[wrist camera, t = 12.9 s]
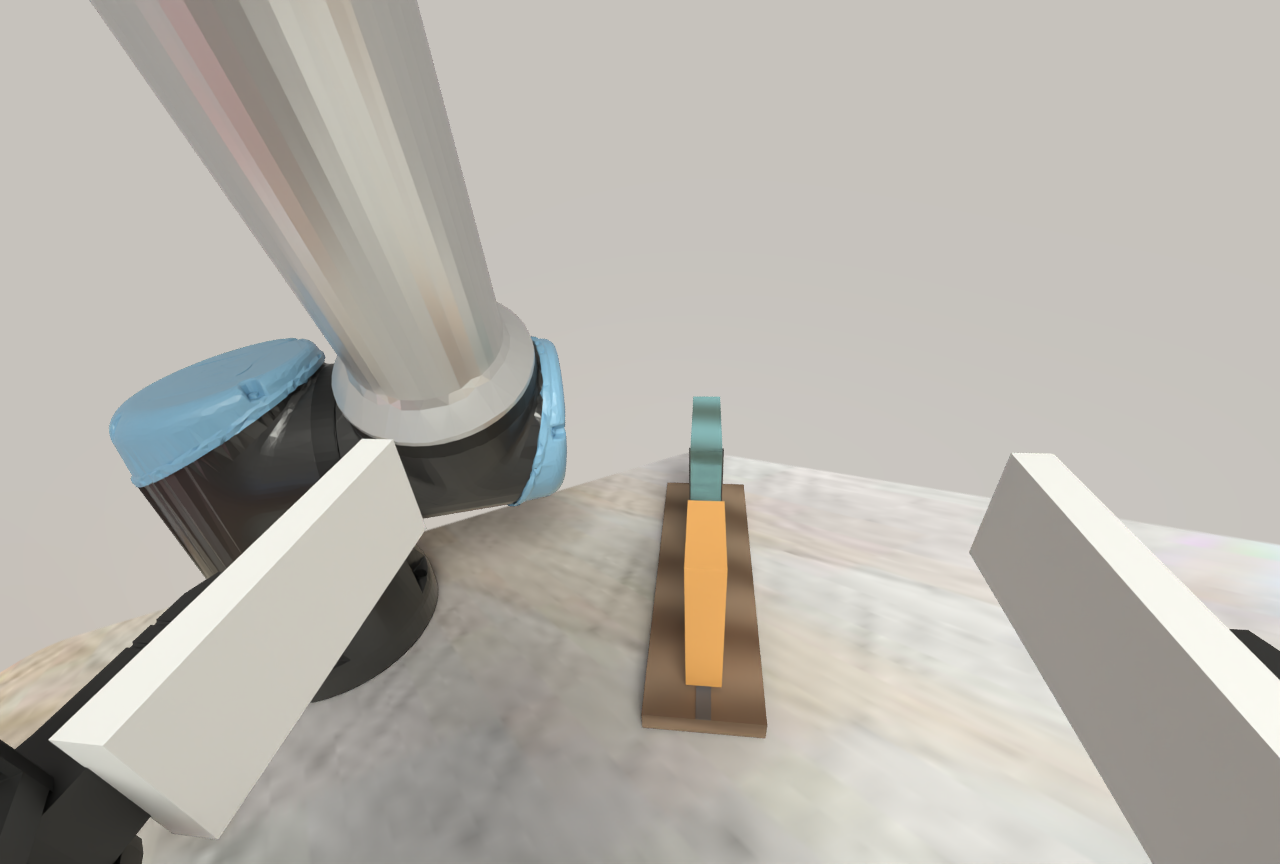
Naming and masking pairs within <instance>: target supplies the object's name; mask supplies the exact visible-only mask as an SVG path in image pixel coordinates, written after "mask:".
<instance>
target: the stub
mask: <svg viewBox="0 0 1280 864" xmlns="http://www.w3.org/2000/svg"><path fill="white" fill-rule="evenodd" d="M726 590H727V547H726V524H725V501H695V500H688V506H687V525H686V543H685V562H684V595H685V673H686V685H697V686H710V687H722V671H723V651H724V630H725V610H726Z"/></svg>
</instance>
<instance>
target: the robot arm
mask: <svg viewBox="0 0 1280 864" xmlns="http://www.w3.org/2000/svg"><path fill="white" fill-rule="evenodd" d="M90 2H91V3H92V4H93V6H94V7H95V9H96V10H97V12H98V13H99V14H100V16H101V17H102V19H103V20H104V22H105V23H106V24H107V26H108V27H109V29H110V30H111V31H112V33H113V34H114V36H115V37H116V39H117V40H118V42H119V43H120V44H121V46H122V47H123V49H124V50H125V52H126V53H127V55H128V56H129V57H130V59H131V60H132V62H133V63H134V65H135V66H136V67H137V69H138V70H139V72H140V73H141V75H142V76H143V77H144V79H145V80H146V82H147V83H148V85H149V86H150V87H151V89H152V90H153V92H154V93H155V94H156V96H157V98H158V99H159V100H160V102H161V103H162V105H163V106H164V107H165V109H166V110H167V112H168V113H169V114H170V116H171V117H172V119H173V120H174V122H175V123H176V125H177V126H178V128H179V129H180V130H181V132H182V133H183V135H184V136H185V137H186V139H187V140H188V142H189V143H190V145H191V146H192V148H193V149H194V150H195V152H196V153H197V155H198V156H199V157H200V159H201V160H202V162H203V163H204V165H205V166H206V168H207V169H208V170H209V172H210V173H211V175H212V176H213V178H214V179H215V180H216V182H217V183H218V185H219V186H220V188H221V189H222V191H223V192H224V193H225V195H226V196H227V198H228V199H229V200H230V202H231V203H232V205H233V206H234V208H235V209H236V211H237V212H238V213H239V215H240V216H241V218H242V219H243V221H244V222H245V223H246V225H247V226H248V228H249V229H250V231H251V232H252V233H253V235H254V236H255V238H256V239H257V241H258V242H259V243H260V245H261V246H262V248H263V249H264V251H265V252H266V254H267V255H268V256H269V258H270V259H271V261H272V262H273V263H274V265H275V266H276V267H277V269H278V271H279V272H280V273H281V275H282V276H283V278H284V279H285V281H286V282H287V284H288V285H289V286H290V288H291V289H292V291H293V292H294V294H295V295H296V296H297V298H298V299H299V301H300V302H301V304H302V305H303V306H304V308H305V309H306V311H307V312H308V314H309V315H310V316H311V318H312V319H313V321H314V322H315V324H316V325H317V326H318V328H319V329H320V331H321V332H322V334H323V335H324V337H325V338H326V339H327V341H328V342H329V344H330V345H331V347H332V348H333V349H334V351H335V352H336V354H337V358H336V360H335V363H334V364H326V363H324V361H325V360H324V359H325V355H324V353H323V352H322V351H321V350H319V348H318V347H317V346H316V345H315V344H314V343H313V342H311V341H309V340H306V339H299V340H297V339H296V338H288V339H278V340H273V341H267V342H263V343H258V344H254V345H250V346H247V347H243V348H240V349H236V350H233V351H230V352H226V353H223V354H221V355H217V356H214V357H212V358H209V359H206V360H203V361H201V362H198V363H196V364H194V365H191V366H188V367H186V368H184V369H181V370H179V371H177V372H175V373H172V374H171V375H168V376H166V377H164V378H162V379H160V380H158V381H156V382H154V383H152V384H151V385H149V386H147V387H145V388H144V389H142V390H141V391H139V392H138V393H136V394H134V395H133V396H132V397H131V398H129V399H128V400H127V401H125V402H124V403H123V404H122V405H121V406H120V407H119V408H118V410H117V411H116V412H115V414H114V415H113V417H112V419H111V422H110V426H109V433H110V437H111V440H112V442H113V444H114V445H115V447H116V449H117V451H118V452H119V454H120V456H121V457H122V459H123V460H124V462H125V464H126V466H127V468H128V469H129V471H130V473H131V474H132V477H131V481H132V483H133V484H134V485H136V487H138V488H139V489H140V491H141V492H142V493H143V494H144V496H145V497H146V499H147V500H148V501H149V502H150V504H151V505H152V507H153V508H154V509H155V511H156V512H157V513H158V515H159V516H160V518H161V519H162V520H163V521H164V523H165V524H166V526H167V527H168V528H169V530H170V531H171V532H172V534H173V535H174V536H175V537H176V539H177V540H178V542H179V543H180V544H181V546H182V547H183V548H184V550H185V551H186V552H187V554H188V555H189V556H190V558H191V559H192V560H193V562H194V563H195V565H196V566H197V567H198V569H199V570H200V571H201V573H202V574H203V575H204V576H205V578H206V580H205V581H203V582H202V583H200V584H199V585H197V586H196V587H194V588H192V589H191V590H189V591H188V592H186V593H185V594H184V595H183V596H181V597H180V598H179V599H178V600H177V601H176V602H175V603H174V604H173V605H172V606H171V607H170V608H168V609H167V610H166V611H165V612H164V613H163V614H162V615H161V616H160V617H159V618H158V619H157V622H156V624H155V625H150V626H149V627H148V628H147V629H146V630H145V631H144V632H143V633H142V634H140V635H139V636H138V637H137V638H136V639H135V640H134V641H133V645H132V647H130V648H125V649H124V650H123V651H122V652H121V653H120V654H119V655H118V656H117V657H116V658H115V659H114V660H112V661H111V662H110V663H109V664H108V665H107V666H106V667H105V668H104V669H103V670H102V671H101V672H100V673H98V674H97V675H96V676H95V677H94V678H93V679H92V680H91V681H90V682H89V683H88V684H87V685H86V686H84V687H83V688H82V689H81V690H80V691H79V692H78V693H77V694H76V695H75V696H74V697H73V698H72V699H70V700H69V701H68V702H67V703H66V704H65V705H64V706H63V707H62V708H61V709H60V710H59V711H58V712H56V713H55V714H54V715H53V716H52V717H51V718H50V719H49V720H48V721H47V722H46V723H45V724H44V725H42V726H41V727H40V728H39V729H38V730H37V731H36V732H35V733H34V734H33V735H32V736H30V737H29V738H28V739H27V740H26V741H24V742H23V743H22V744H21V745H20V746H18V747H17V748H16V749H13V748H12V747H10V746H9V745H8V744H6V743H5V742H3V741H2V740H0V864H142V858H143V847H142V839H141V838H139V837H138V836H137V835H136V834H137V833H138V832H139V830H140V829H141V828H142V827H143V825H144V824H145V823H146V821H147V820H148V819H149V818H150V817H151V818H153V819H154V820H155V821H157V822H158V823H159V824H161V825H162V826H163V827H165V828H166V829H167V830H169V831H170V832H171V833H173V834H178V835H186V836H194V837H201V838H209V839H217V840H218V839H219V838H220V836H221V835H222V833H223V832H224V830H225V829H226V827H227V826H228V824H229V823H230V821H231V820H232V818H233V817H234V815H235V814H236V812H237V811H238V809H239V808H240V806H241V805H242V803H243V802H244V800H245V799H246V797H247V796H248V794H249V793H250V791H251V790H252V788H253V787H254V785H255V784H256V782H257V781H258V779H259V778H260V776H261V775H262V773H263V772H264V770H265V769H266V767H267V766H268V764H269V763H270V761H271V760H272V758H273V757H274V756H275V754H276V753H277V751H278V750H279V748H280V747H281V745H282V744H283V742H284V741H285V739H286V738H287V736H288V735H289V733H290V732H291V730H292V729H293V727H294V726H295V724H296V723H297V721H298V720H299V718H300V717H301V715H302V714H303V712H304V711H305V709H306V708H307V706H308V705H309V703H311V702H316V701H320V700H324V699H327V698H331V697H333V696H336V695H339V694H342V693H344V692H346V691H349V690H351V689H353V688H355V687H357V686H359V685H361V684H363V683H365V682H366V681H368V680H370V679H371V678H373V677H375V676H376V675H378V674H379V673H381V672H382V671H383V670H385V669H386V668H388V667H389V666H390V665H391V664H393V663H394V662H395V661H396V660H397V659H398V658H400V657H401V656H402V655H403V654H404V653H405V652H406V651H407V650H408V649H409V648H410V647H411V646H412V645H413V644H414V642H415V641H416V640H417V639H418V637H419V636H420V635H421V633H422V632H423V631H424V629H425V628H426V626H427V624H428V622H429V621H430V619H431V617H432V614H433V612H434V609H435V606H436V602H437V596H438V586H437V581H436V578H435V575H434V573H433V570H432V567H431V565H430V562H429V560H428V559H427V557H426V556H425V554H424V553H423V552H422V550H421V549H420V548H418V547H417V546H416V543H417V542H418V540H419V539H420V537H421V536H422V534H423V533H424V531H425V529H426V526H425V523H424V521H423V518H429V517H435V516H441V515H447V514H453V513H459V512H465V511H471V510H476V509H483V508H489V507H495V506H501V505H508V506H518V505H520V504H521V503H523V502H524V501H528V500H533V499H537V498H542V497H547V496H549V495H551V494H553V493H555V492H556V491H557V490H558V489H559V488H560V486H561V485H562V483H563V480H564V477H565V471H566V457H567V445H566V432H565V429H564V427H565V403H564V394H563V384H562V377H561V370H560V365H559V359H558V355H557V352H556V348H555V346H554V345H553V343H552V342H550V341H549V340H547V339H538V338H536V337H532V336H531V337H530V335H529V332H528V330H527V328H526V326H525V324H524V323H523V322H522V321H521V320H520V318H519V317H518V316H517V315H516V314H514V313H513V312H512V311H511V310H509V309H508V308H506V307H505V306H503V305H502V304H500V303H498V302H496V299H495V295H494V292H493V287H492V284H491V280H490V276H489V272H488V268H487V265H486V261H485V257H484V253H483V249H482V246H481V242H480V238H479V234H478V231H477V227H476V223H475V219H474V215H473V212H472V208H471V204H470V200H469V196H468V193H467V189H466V185H465V181H464V177H463V174H462V170H461V166H460V162H459V159H458V155H457V151H456V147H455V144H454V140H453V136H452V133H451V129H450V124H449V121H448V117H447V113H446V109H445V106H444V102H443V98H442V94H441V90H440V87H439V83H438V79H437V75H436V72H435V68H434V64H433V60H432V56H431V53H430V49H429V45H428V41H427V37H426V33H425V30H424V26H423V22H422V19H421V15H420V11H419V7H418V3H417V0H90ZM969 553H970V555H971V556H972V558H973V560H974V561H975V563H976V565H977V567H978V568H979V570H980V572H981V573H982V575H983V577H984V578H985V580H986V582H987V584H988V585H989V587H990V589H991V590H992V592H993V594H994V595H995V597H996V599H997V600H998V602H999V604H1000V606H1001V607H1002V609H1003V611H1004V612H1005V614H1006V616H1007V617H1008V619H1009V621H1010V623H1011V624H1012V626H1013V628H1014V629H1015V631H1016V633H1017V634H1018V636H1019V638H1020V639H1021V641H1022V643H1023V645H1024V646H1025V648H1026V650H1027V651H1028V653H1029V655H1030V656H1031V658H1032V660H1033V662H1034V663H1035V665H1036V667H1037V668H1038V670H1039V672H1040V673H1041V675H1042V677H1043V679H1044V680H1045V682H1046V684H1047V685H1048V687H1049V689H1050V690H1051V692H1052V694H1053V695H1054V697H1055V699H1056V701H1057V702H1058V704H1059V706H1060V707H1061V709H1062V711H1063V712H1064V714H1065V716H1066V718H1067V719H1068V721H1069V723H1070V724H1071V726H1072V728H1073V729H1074V731H1075V733H1076V734H1077V736H1078V738H1079V740H1080V741H1081V743H1082V745H1083V746H1084V748H1085V750H1086V751H1087V753H1088V755H1089V757H1090V758H1091V760H1092V762H1093V763H1094V765H1095V767H1096V768H1097V770H1098V772H1099V774H1100V775H1101V777H1102V779H1103V780H1104V782H1105V784H1106V785H1107V787H1108V789H1109V790H1110V792H1111V794H1112V796H1113V797H1114V799H1115V801H1116V802H1117V804H1118V806H1119V807H1120V809H1121V811H1122V813H1123V814H1124V816H1125V818H1126V819H1127V821H1128V823H1129V824H1130V826H1131V828H1132V829H1133V831H1134V833H1135V835H1136V836H1137V838H1138V840H1139V841H1140V843H1141V845H1142V846H1143V848H1144V850H1145V852H1146V853H1147V855H1148V857H1149V858H1150V860H1151V862H1152V863H1153V864H1280V651H1279V650H1277V649H1276V648H1274V647H1273V646H1271V645H1270V644H1268V643H1267V642H1265V641H1264V640H1262V639H1261V638H1259V637H1258V636H1256V635H1255V634H1253V633H1252V632H1250V631H1249V630H1237V629H1228V628H1227V627H1226V626H1225V625H1224V624H1223V623H1222V622H1221V621H1220V620H1219V619H1218V618H1217V617H1216V616H1215V615H1214V614H1213V613H1212V612H1211V611H1210V610H1209V609H1208V608H1207V607H1206V606H1205V605H1204V604H1203V603H1202V602H1201V601H1200V600H1199V599H1198V598H1197V597H1196V596H1195V595H1194V594H1193V593H1192V592H1191V591H1190V590H1189V589H1188V588H1187V587H1186V586H1185V585H1184V584H1183V583H1182V582H1181V581H1180V580H1179V579H1178V578H1177V577H1176V576H1175V575H1174V574H1173V573H1172V572H1171V571H1170V570H1169V569H1168V568H1167V567H1166V566H1165V565H1164V564H1163V563H1162V562H1161V561H1160V560H1159V559H1158V558H1157V557H1156V556H1155V555H1154V554H1153V553H1152V552H1151V551H1150V550H1149V549H1148V548H1147V547H1146V546H1145V545H1144V544H1143V543H1142V542H1141V541H1140V540H1139V539H1138V538H1137V537H1136V536H1135V535H1134V534H1133V533H1132V532H1131V531H1130V530H1129V529H1128V528H1127V527H1126V526H1125V525H1124V524H1123V523H1122V522H1121V521H1120V520H1119V519H1118V518H1117V517H1116V516H1115V515H1114V514H1113V513H1112V512H1111V511H1110V510H1109V509H1108V508H1107V507H1106V506H1105V505H1104V504H1103V503H1102V502H1101V501H1100V500H1099V499H1098V498H1097V497H1096V496H1095V495H1094V494H1093V493H1092V492H1091V491H1090V490H1089V489H1088V488H1087V487H1086V486H1085V485H1084V484H1083V483H1082V482H1081V481H1080V480H1079V479H1078V478H1077V477H1076V476H1075V475H1074V474H1073V473H1072V472H1071V471H1070V470H1069V469H1068V468H1067V467H1066V466H1065V465H1064V464H1063V463H1062V462H1061V461H1060V460H1059V459H1058V458H1057V457H1056V456H1055V455H1054V454H1037V453H1035V454H1034V453H1011V454H1010V457H1009V459H1008V462H1007V464H1006V466H1005V469H1004V471H1003V473H1002V476H1001V478H1000V480H999V483H998V485H997V488H996V490H995V492H994V495H993V497H992V499H991V502H990V504H989V506H988V509H987V511H986V513H985V516H984V518H983V521H982V523H981V525H980V528H979V530H978V532H977V535H976V537H975V539H974V542H973V544H972V547H971V549H970V551H969Z"/></svg>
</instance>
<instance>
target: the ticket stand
mask: <svg viewBox="0 0 1280 864" xmlns="http://www.w3.org/2000/svg"><path fill="white" fill-rule="evenodd" d="M720 409H721V408H720V397H693V415H692V433H691V434H692V435H691V448H689V483H668V484H667V493H666V502H665V510H664V519H663V528H662V537H661V546H660V554H659V563H658V572H657V581H656V590H655V599H654V607H653V616H652V625H651V634H650V643H649V652H648V660H647V669H646V678H645V687H644V696H643V705H642V713H641V716H642V727H644V728H655V729H666V730H678V731H689V732H700V733H712V734H723V735H734V736H745V737H757V738H765V737H766V730H767V719H766V709H765V698H764V688H763V678H762V668H761V658H760V647H759V637H758V627H757V617H756V607H755V596H754V586H753V576H752V566H751V556H750V545H749V535H748V525H747V515H746V505H745V494H744V485H738V484H722V483H723V457H724V449H722V431H721V411H720ZM688 500H695V501H725V524H726V547H727V590H726V610H725V630H724V651H723V671H722V687H710V686H697V685H686V673H685V595H684V562H685V543H686V525H687V506H688Z"/></svg>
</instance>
